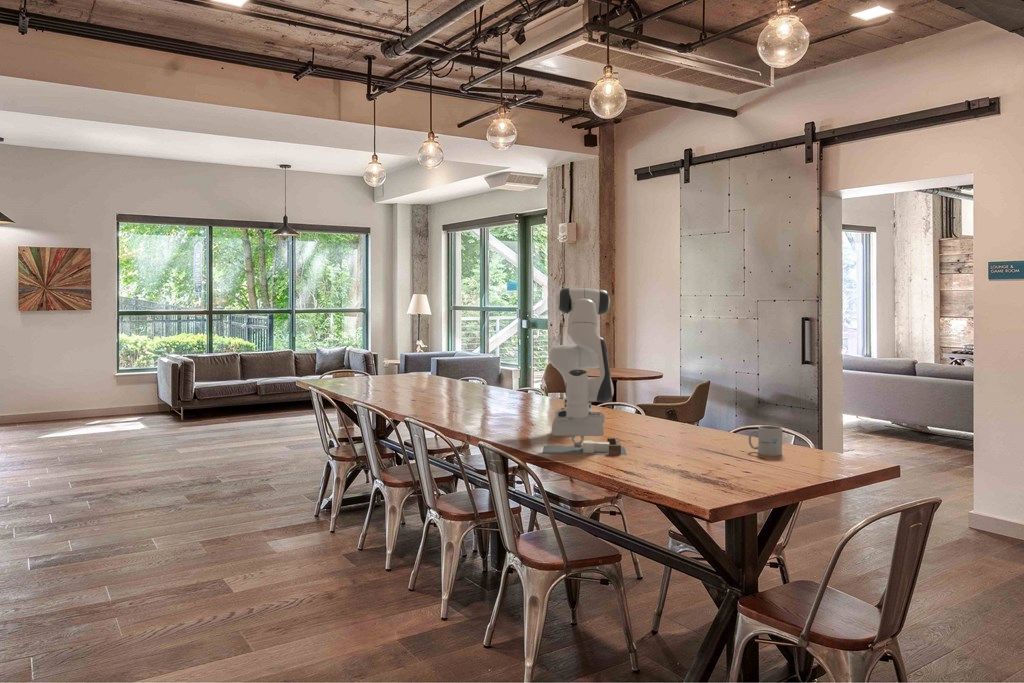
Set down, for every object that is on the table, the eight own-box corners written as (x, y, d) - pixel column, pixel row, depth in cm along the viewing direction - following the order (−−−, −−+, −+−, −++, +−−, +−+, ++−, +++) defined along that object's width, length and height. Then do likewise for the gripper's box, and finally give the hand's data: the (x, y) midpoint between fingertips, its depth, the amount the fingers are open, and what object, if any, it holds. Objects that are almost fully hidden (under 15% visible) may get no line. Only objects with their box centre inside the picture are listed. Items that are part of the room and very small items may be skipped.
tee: (583, 448, 296) (583, 440, 296) (608, 448, 295) (608, 440, 295) (583, 452, 287) (583, 444, 287) (609, 453, 286) (609, 445, 286)
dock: (607, 446, 299) (607, 437, 299) (618, 446, 298) (618, 438, 298) (608, 454, 283) (608, 445, 283) (620, 454, 282) (621, 445, 282)
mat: (543, 446, 301) (543, 445, 301) (624, 448, 298) (624, 446, 298) (542, 454, 285) (542, 453, 285) (626, 456, 282) (626, 454, 282)
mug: (785, 453, 287) (786, 427, 287) (775, 456, 281) (776, 430, 281) (755, 449, 296) (755, 423, 295) (745, 452, 290) (745, 426, 289)
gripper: (604, 410, 293) (604, 446, 294) (551, 410, 295) (551, 445, 296) (604, 413, 287) (604, 449, 288) (551, 412, 289) (551, 448, 289)
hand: (577, 447), depth 292 cm, fingers closed
